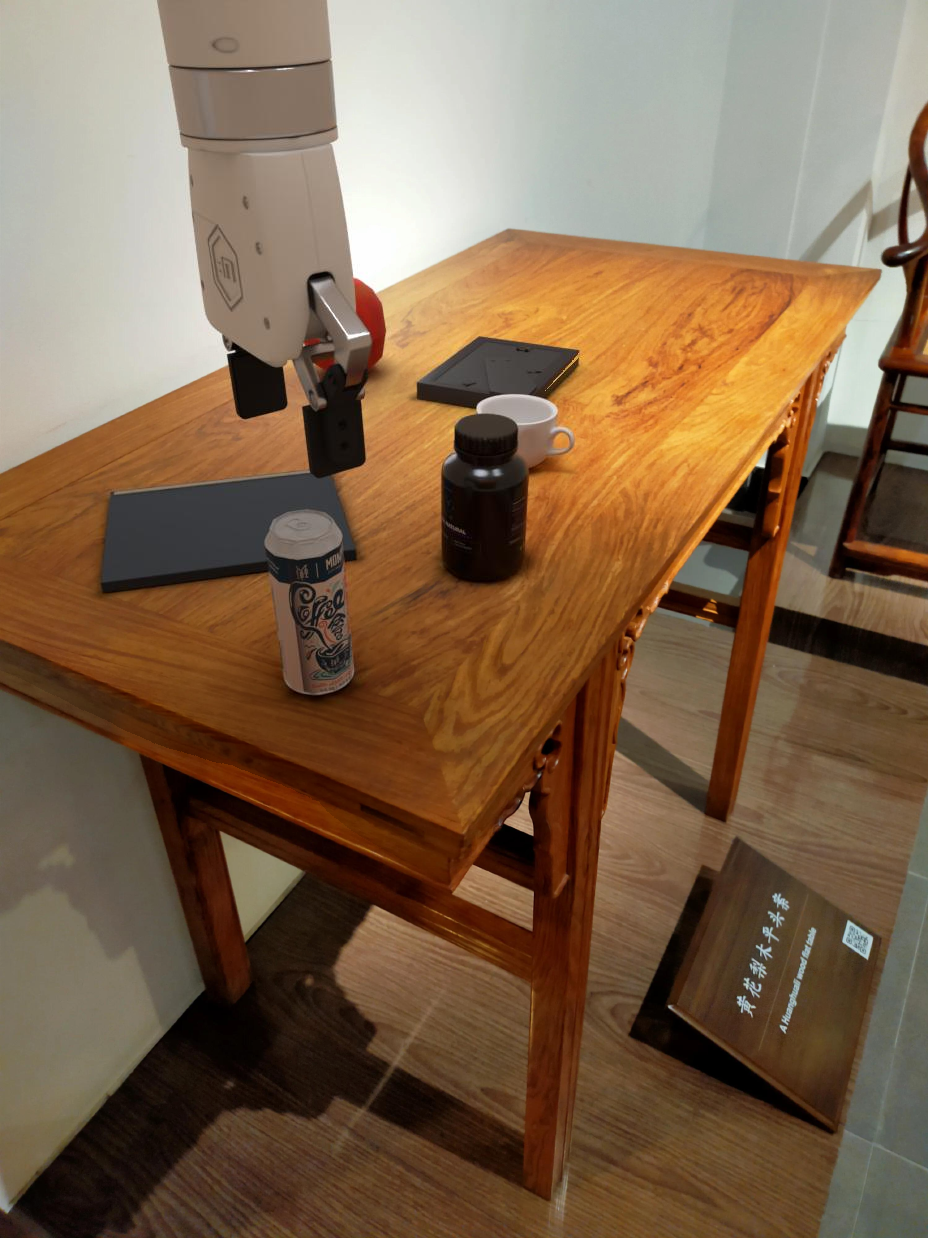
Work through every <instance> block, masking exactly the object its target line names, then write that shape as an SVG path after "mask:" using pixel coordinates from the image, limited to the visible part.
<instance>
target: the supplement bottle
mask: <svg viewBox="0 0 928 1238" xmlns="http://www.w3.org/2000/svg"><path fill="white" fill-rule="evenodd" d="M453 429H454V430H453V432H454V433H453V450H454V451H452V452H451V453H450V454H449V455H448V456H447V457H446V458H445V459H444V461H443V463H442V466H441V470H440V471H441V472H440V508H441V509H440V516H441V517H440V520H441V522H440V530H441V531H440V533H441V534H440V538H441V539H440V540H441V543H440V544H441V545H440V546H441V559H442V562H443V564H444V566H445V567H446V568H447V569H448V570H449V571H450V572H451V573H452V574H454V575H456V576H457V577H461V578H463V579H466V580H469V581H476V582H491V581H499V580H501V579H505V578H508V577H510V576H512V575H513V574H515V573H516V572H517V571H519V569H520V568H521V567H522V565H523V563H524V561H525V553H526V536H527V521H528V520H527V518H528V501H529V483H530V482H529V481H530V468H529V469H528V466H527V463H526V462H525V460H524V459H523V457H522V456H521V455H520V454H518V453H517V451H518V426H517V424H516V422H515V421H513V420H512V419H510V418H508V417H505V416H502V415H498V414H489V413H485V414H484V413H481V414H476V413H474V414H469V415H465V416H463V417H461V418H460V419H457V421H455V424H454V428H453Z"/></svg>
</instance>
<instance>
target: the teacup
mask: <svg viewBox="0 0 928 1238" xmlns="http://www.w3.org/2000/svg"><path fill="white" fill-rule="evenodd" d="M475 412H476V413H475V414H481V413H484V414H485V413H489V414H498V415H502V416H505V417H508V418H510V419H512V420H513V421H515V422H516V424H517V426H518V451H517V453H518V454H520V455H521V456H522V457H523V459H524V460H525V462H526V463H527V466H528V469H529V470H530V469H531V468H533V467H535V466H537V465H539V464H541V463H542V462H544V460H545V459H546V458H547V457H555V456H561V455H565V454H567V453H569V452H570V451H571V450H572V449H573V448H574V446H575V442H576V441H575V440H576V439H575V435H574V434H573V432H572V431H571V430H570V429H569V428H568V427H565V426H557V424H558V413H559V410H558V407H557V406H556V404H554V402H551V401H549V400H548V399H546V398H545V399H543V398H539V397H535V396H530V395H520V394H508V395H499V396H494V397H490V398H487V399H485V400H483V401H481V402H480V403H479V404H478V405H477V408H476V411H475ZM560 434H565V435H566V436H567V437H568V439H569V440H568V441H569V443H568V446H567V447H566V448H555V447H554V443H555V439H556V437H557V436H558V435H560Z"/></svg>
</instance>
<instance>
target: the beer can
mask: <svg viewBox="0 0 928 1238" xmlns="http://www.w3.org/2000/svg"><path fill="white" fill-rule="evenodd" d="M265 550H266V557H267V564H268V571H267V572H268V577H269V584H270V592H271V599H272V606H273V612H274V619H275V625H276V633H277V634H276V635H277V641H278V647H279V654H280V662H281V668H282V675H283V680H284V682H285V684H286V685H287V686H288V687H289V688H290V689H291V690H293V691H294V692H297V693H299V694H302V695H309V696H310V695H311V696H321V695H326V694H330V693H334V692H337V691H339V690H341V689H342V688H344V687H346V686H347V685H348V684H349V683H350V681H351V680H352V679H353V677H354V674H355V665H354V654H353V642H352V641H353V640H352V632H351V618H350V608H349V598H348V587H347V586H348V585H347V574H346V563H345V562H346V561H344V550H343V539H342V533H341V531H340V529H339V528H338V526H337V525H336V524H335V522H334V520H333V519H332V518H331V517H330V516H329V515H327V514H326V513H325V512H320V511H314V510H308V509H306V510H299V511H292V512H287V513H285V514H283V515H281V516H279V517H277V518H276V519H274V520H273V522H272V524H271V527H270V530H269V533H268V534H267V536H266V538H265Z"/></svg>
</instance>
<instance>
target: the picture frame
mask: <svg viewBox="0 0 928 1238" xmlns="http://www.w3.org/2000/svg"><path fill="white" fill-rule="evenodd" d="M578 353H579V354H580V349H575V348H567V347H562V346H561V347H560V346H553V345H546V344H540V343H539V344H538V343H532V342H525V341H517V340H510V339H503V338H496V337H495V338H494V337H487V336H481V335H479V336H477V337H476V338H474V339H473V340H472V341H471V342H469V343H468V344H466V345H465V346H464V347H462V348H461V349H459V350H458V351H457V352H455V353H454V354H453V355H451V356H450V357H449V358H447V359H446V360H444V361H443V362H442V363H440V364H439V365H437V367H435V368H434V369H433V370H431V371H430V372H429V373H427V374H426V375H424V376H423V377H422V378H420V379H419V380H417V381H416V398H417V399H419V400H425V401H431V402H436V403H443V404H448V405H454V406H459V407H466V408H470V409H471V408H472V409H477V405H478V404H479V403H480V402H481V401H483V400H485V399H487V398H490V397H494V396H499V395H508V394H520V395H530V396H535V397H539V398H543V399H545V400H546V398H547V397H548V396H549V395H550V394H551V393H552V392H554V390H555V389H557V387H558V386H559V385H560V384H561V383H562V382H563V381H564V380H565V379H566V378H567V377H568V376H569V375H570V374H571V373H572V372H573V371H574V370H575V369H577V367H578V366H579V363H580V357H579V358H578V359H577V360H576V361H575V362H574V363H573V364H572V365H571V366H570V367H569V368H568V369H567V370H566V371H565V372H564V373H563V374H562V375H561V376H560V377H559V378H558V379H557V380H556V381H555V382H554V383H553V381H554V380H555V379H556V378H557V377H558V376H559V375H560V374H561V373H562V372H563V370H565V368H566V367H567V366H568V365H569V364H570V363H571V362H572V360H574V358H575V357H576V356H577V355H578ZM552 383H553V384H552ZM551 384H552V385H551ZM550 385H551V386H550ZM549 386H550V387H549ZM548 387H549V388H548ZM547 388H548V389H547ZM545 390H546V391H545Z"/></svg>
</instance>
